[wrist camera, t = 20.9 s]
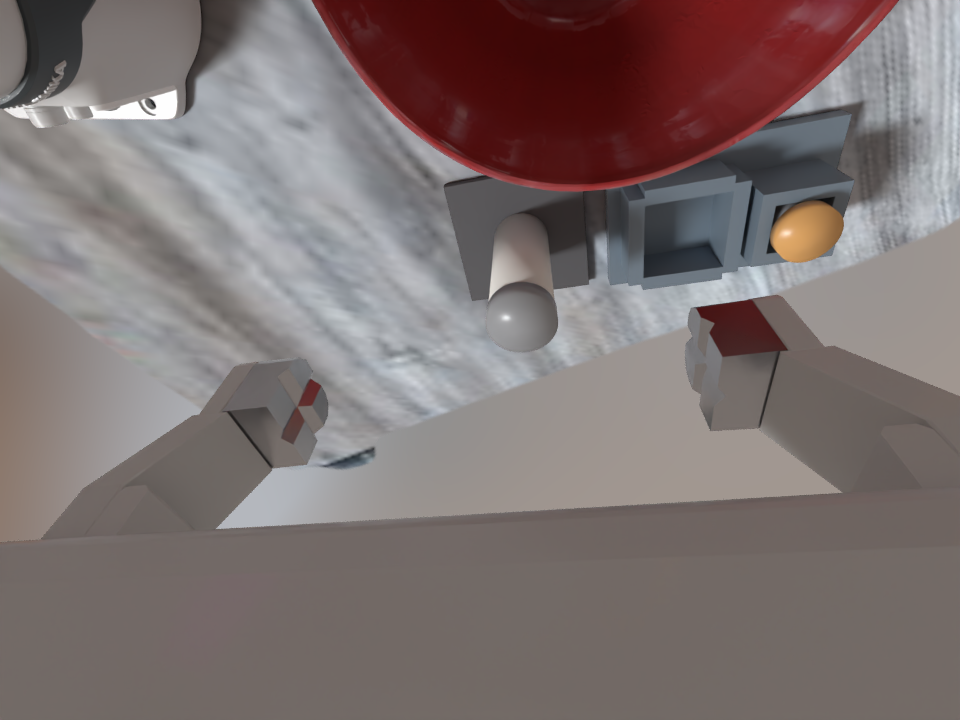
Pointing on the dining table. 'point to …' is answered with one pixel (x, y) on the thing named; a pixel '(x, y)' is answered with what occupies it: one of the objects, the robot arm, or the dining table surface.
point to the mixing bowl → (592, 77)
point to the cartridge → (521, 286)
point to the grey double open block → (724, 204)
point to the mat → (494, 200)
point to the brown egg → (805, 230)
